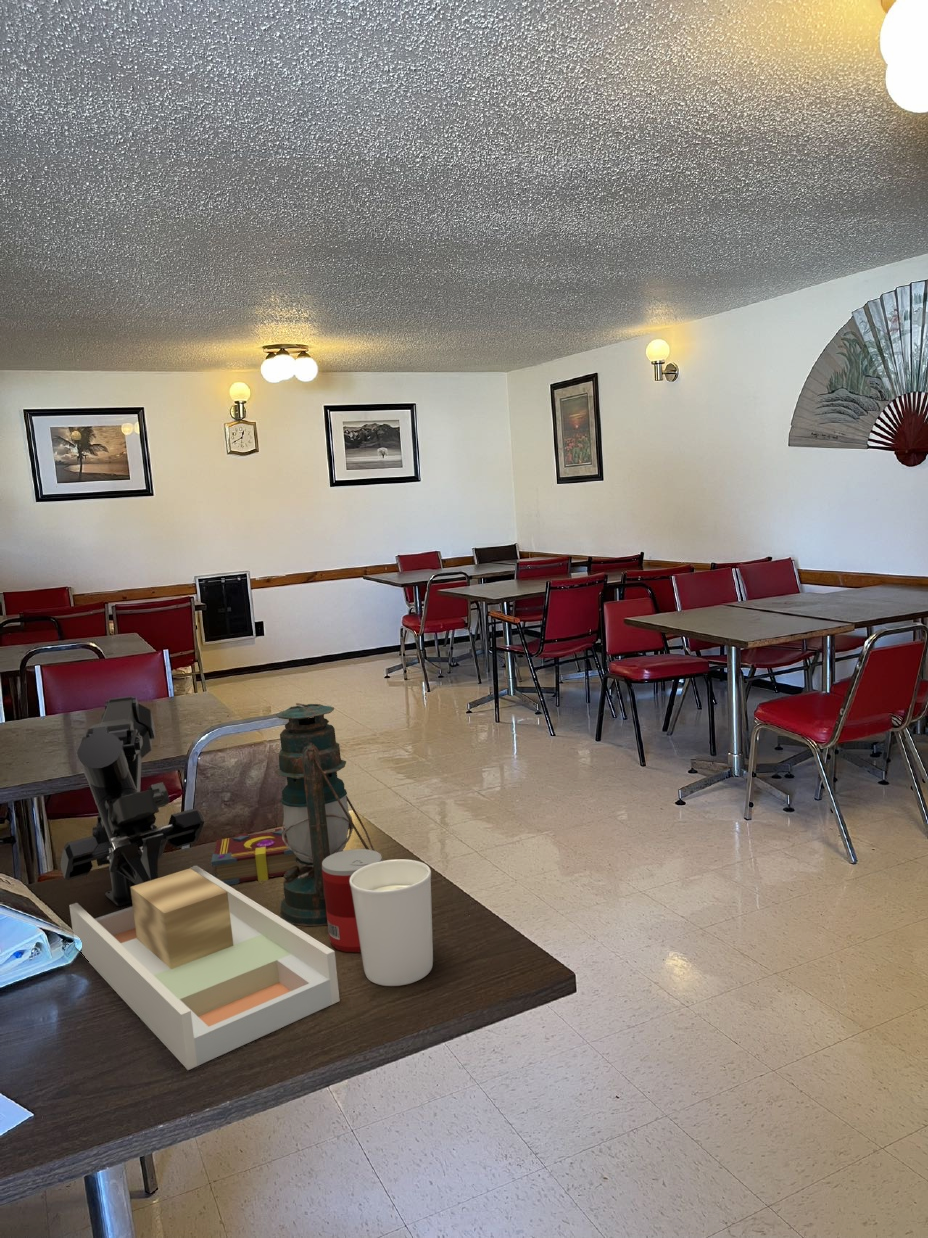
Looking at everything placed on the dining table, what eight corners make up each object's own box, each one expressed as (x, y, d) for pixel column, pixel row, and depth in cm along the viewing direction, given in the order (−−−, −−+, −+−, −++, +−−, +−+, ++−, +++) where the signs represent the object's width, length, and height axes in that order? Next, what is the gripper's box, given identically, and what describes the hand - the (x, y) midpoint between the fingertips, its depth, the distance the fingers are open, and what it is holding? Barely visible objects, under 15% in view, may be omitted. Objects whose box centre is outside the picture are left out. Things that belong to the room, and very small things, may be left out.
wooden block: (136, 938, 117) (130, 887, 116) (195, 918, 122) (189, 868, 121) (171, 969, 108) (164, 913, 107) (233, 945, 112) (227, 892, 112)
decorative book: (218, 864, 151) (215, 835, 150) (315, 849, 154) (312, 821, 154) (214, 889, 140) (210, 858, 139) (318, 873, 143) (315, 843, 142)
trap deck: (74, 947, 123) (69, 905, 122) (200, 904, 134) (196, 865, 133) (187, 1070, 92) (181, 1014, 91) (339, 1001, 103) (334, 951, 102)
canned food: (380, 954, 113) (372, 870, 112) (320, 953, 115) (312, 870, 114) (396, 927, 121) (389, 848, 120) (340, 926, 122) (332, 848, 121)
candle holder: (450, 953, 112) (442, 861, 111) (421, 994, 103) (412, 893, 102) (379, 947, 115) (370, 857, 114) (344, 986, 106) (334, 888, 105)
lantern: (279, 888, 138) (259, 696, 134) (372, 873, 140) (354, 685, 137) (281, 944, 119) (257, 721, 115) (388, 925, 121) (368, 708, 118)
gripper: (55, 785, 118) (90, 887, 111) (191, 753, 130) (232, 844, 122) (47, 830, 125) (80, 929, 118) (177, 796, 137) (215, 885, 129)
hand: (154, 895), depth 121 cm, fingers closed
